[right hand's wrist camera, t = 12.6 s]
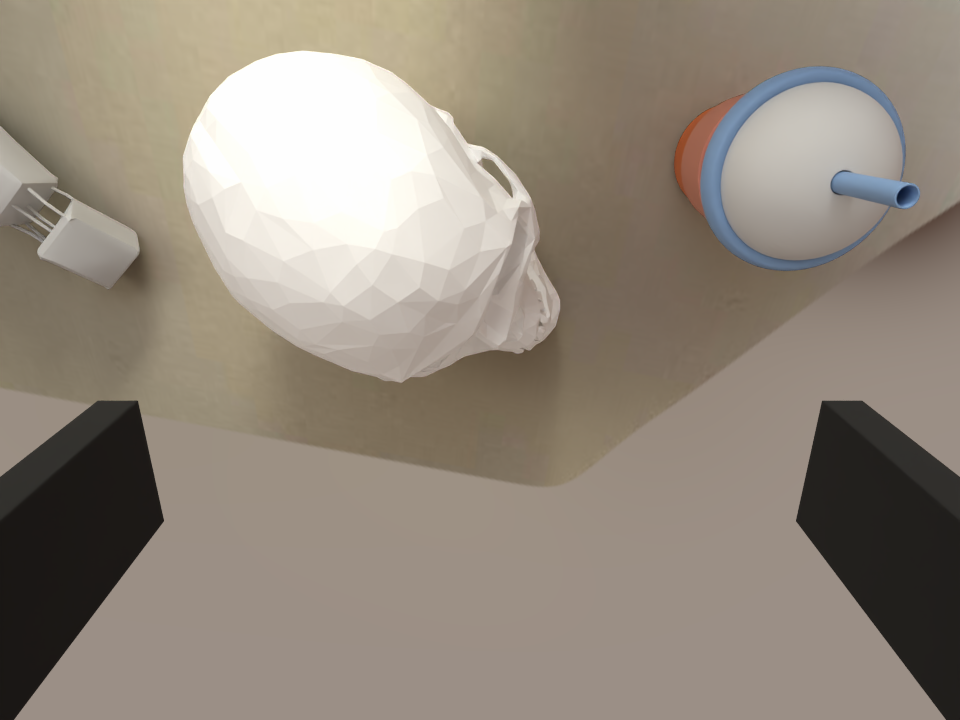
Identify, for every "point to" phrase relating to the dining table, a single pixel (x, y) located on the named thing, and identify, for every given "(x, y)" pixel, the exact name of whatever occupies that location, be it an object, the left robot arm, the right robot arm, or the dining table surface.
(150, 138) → the dining table surface
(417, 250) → the skull
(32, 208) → the white segmented bar
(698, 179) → the cup with straw
